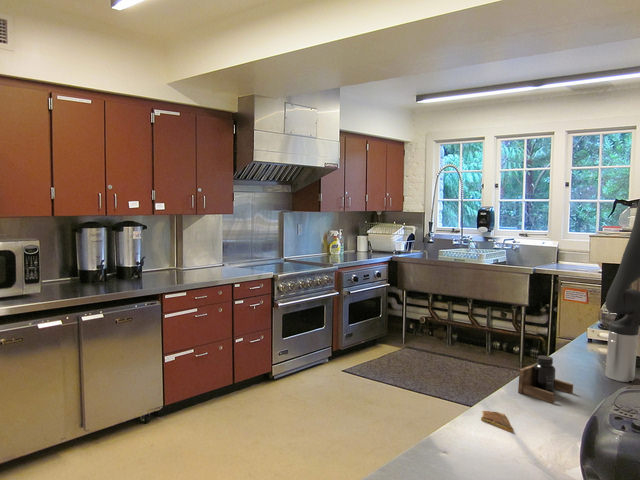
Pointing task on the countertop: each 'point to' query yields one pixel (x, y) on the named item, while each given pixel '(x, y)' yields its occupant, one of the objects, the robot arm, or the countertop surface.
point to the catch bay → (528, 388)
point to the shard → (497, 420)
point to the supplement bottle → (544, 374)
